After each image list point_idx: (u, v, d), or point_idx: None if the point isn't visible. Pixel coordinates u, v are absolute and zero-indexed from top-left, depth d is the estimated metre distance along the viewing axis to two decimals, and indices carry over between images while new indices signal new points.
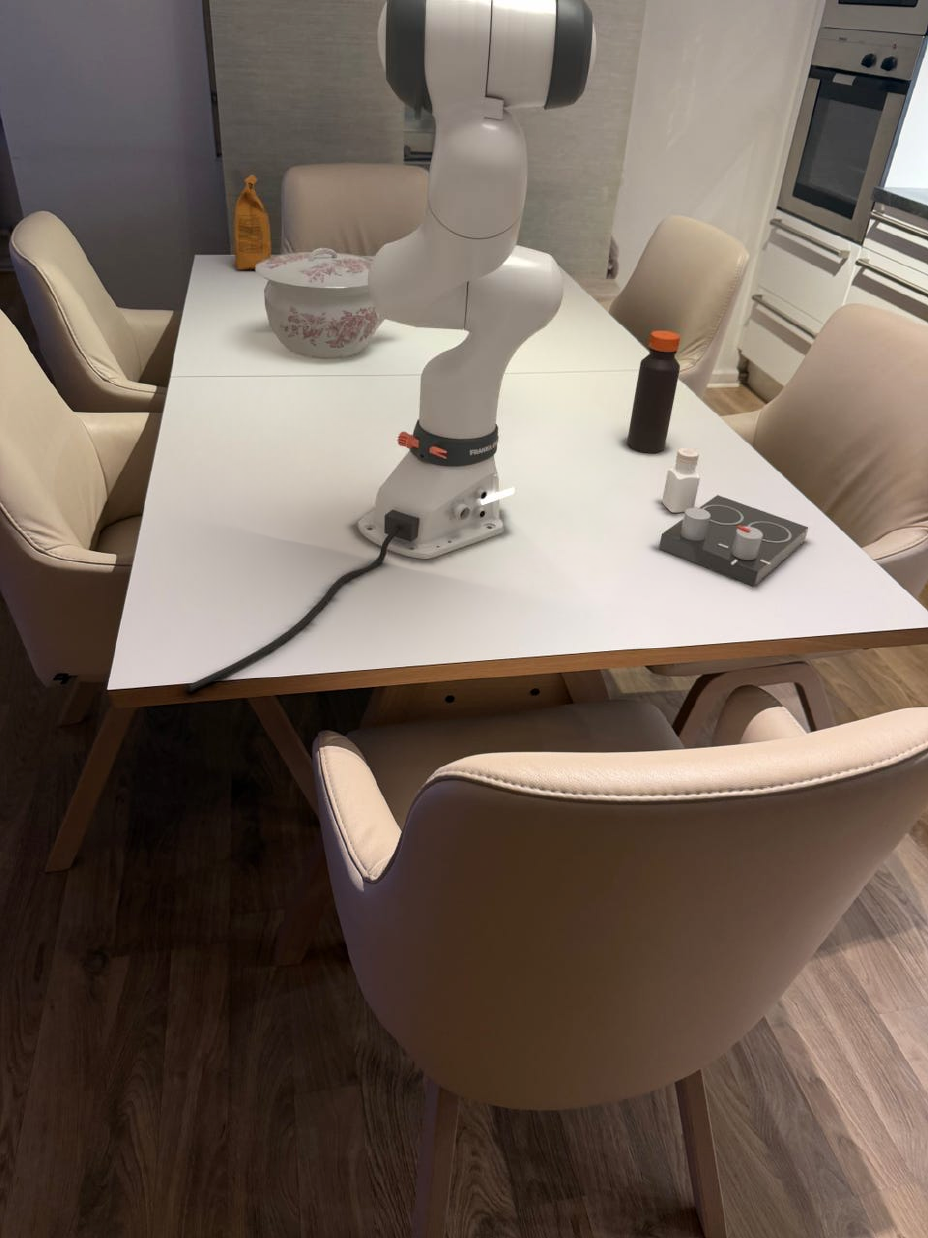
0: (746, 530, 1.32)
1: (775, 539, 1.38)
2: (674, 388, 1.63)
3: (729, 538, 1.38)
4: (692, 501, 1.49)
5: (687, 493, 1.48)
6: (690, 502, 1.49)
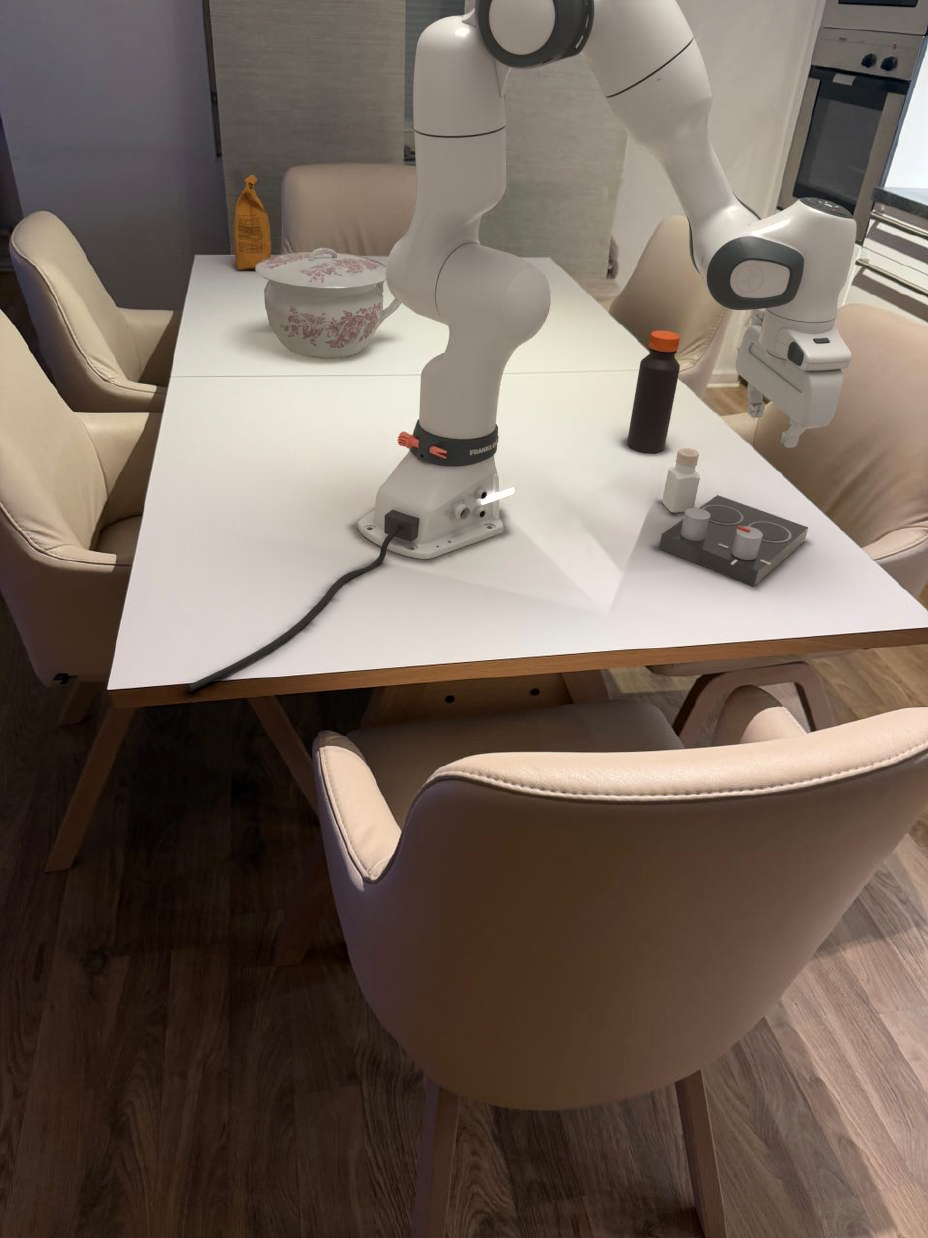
0: (746, 530, 1.32)
1: (775, 539, 1.38)
2: (674, 388, 1.63)
3: (729, 538, 1.38)
4: (692, 501, 1.49)
5: (687, 493, 1.48)
6: (690, 502, 1.49)
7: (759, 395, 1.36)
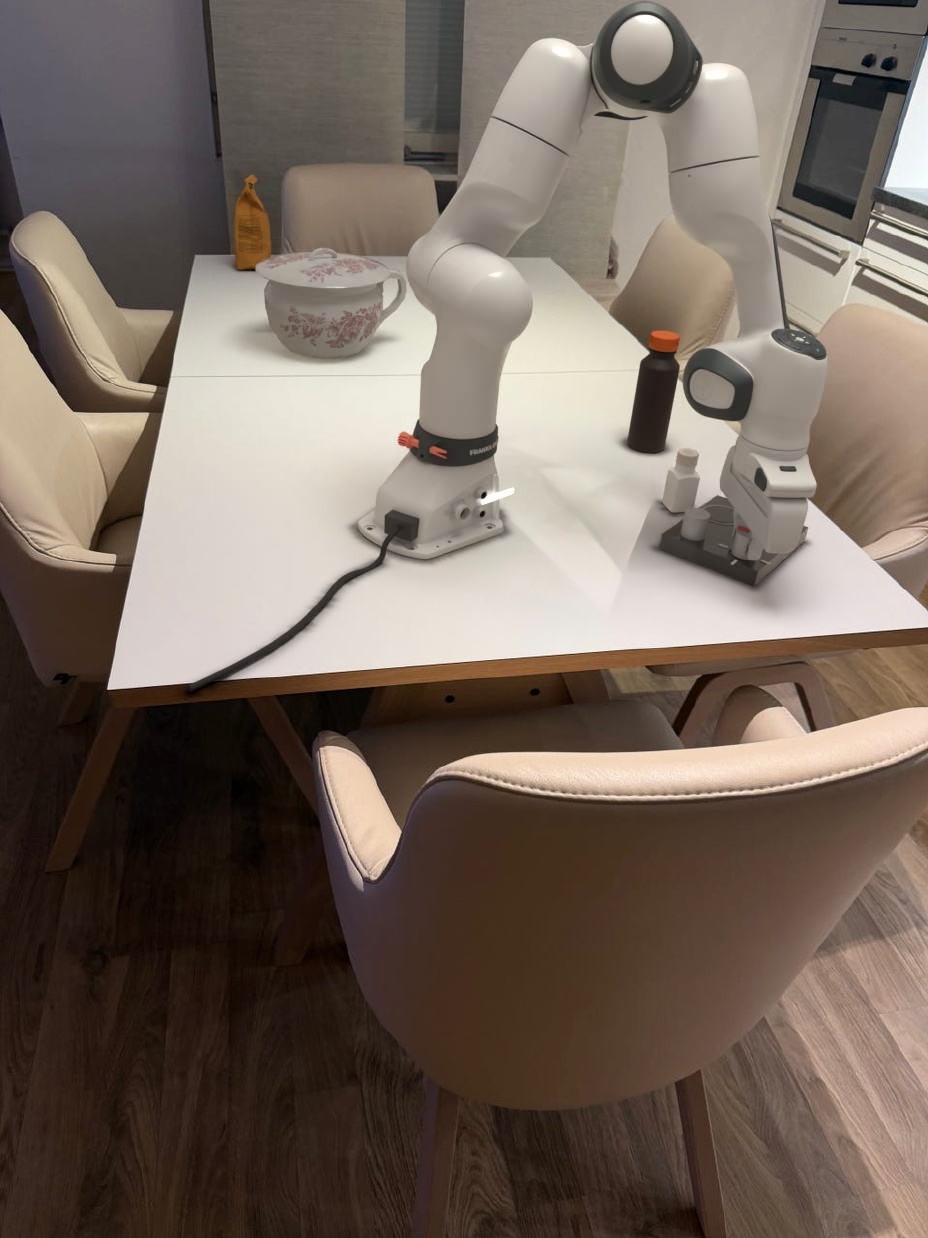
0: (746, 530, 1.32)
1: None
2: (674, 388, 1.63)
3: (729, 538, 1.38)
4: (692, 501, 1.49)
5: (687, 493, 1.48)
6: (690, 502, 1.49)
7: None
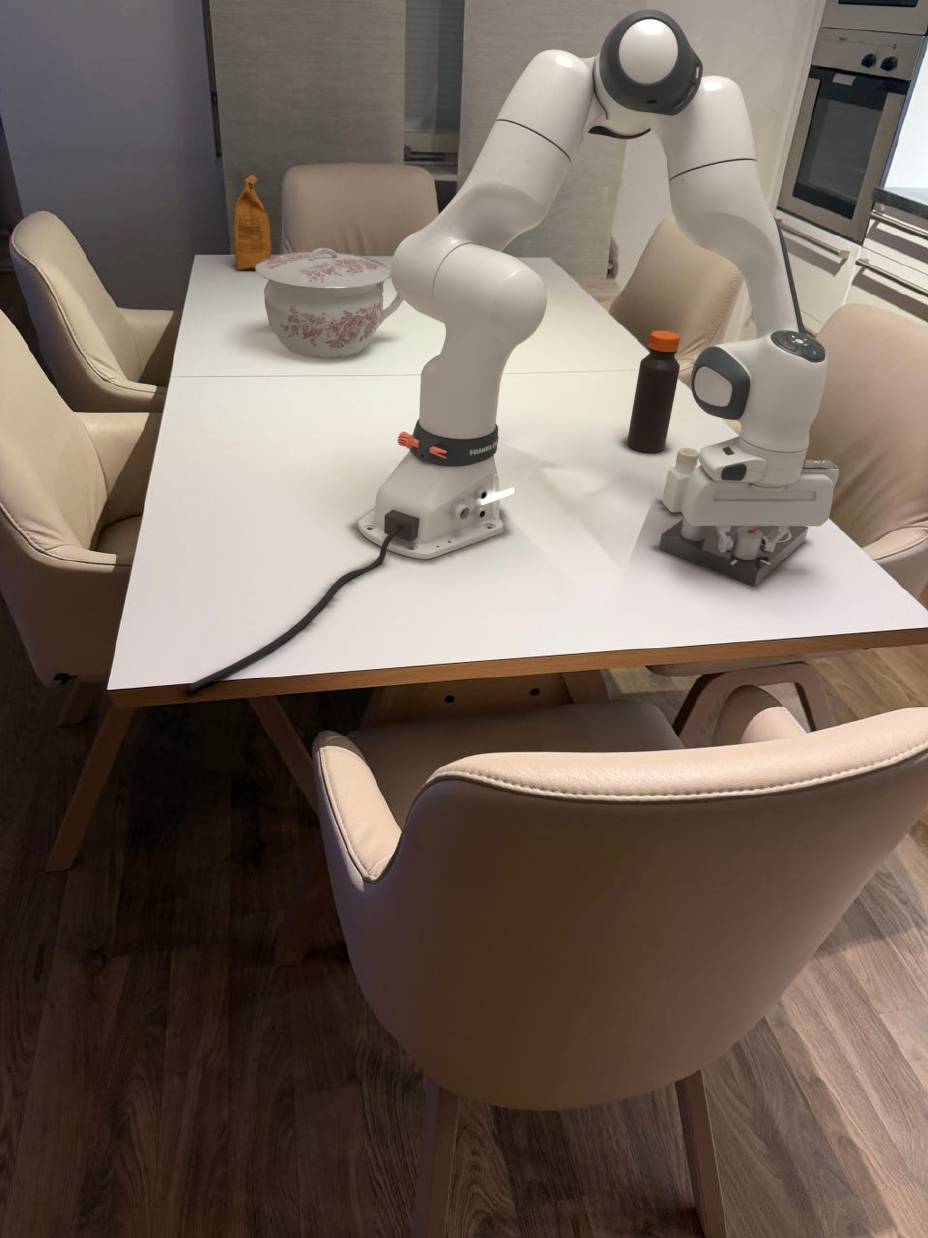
0: (750, 529, 1.33)
1: None
2: (674, 388, 1.63)
3: None
4: None
5: None
6: None
7: (776, 534, 1.33)
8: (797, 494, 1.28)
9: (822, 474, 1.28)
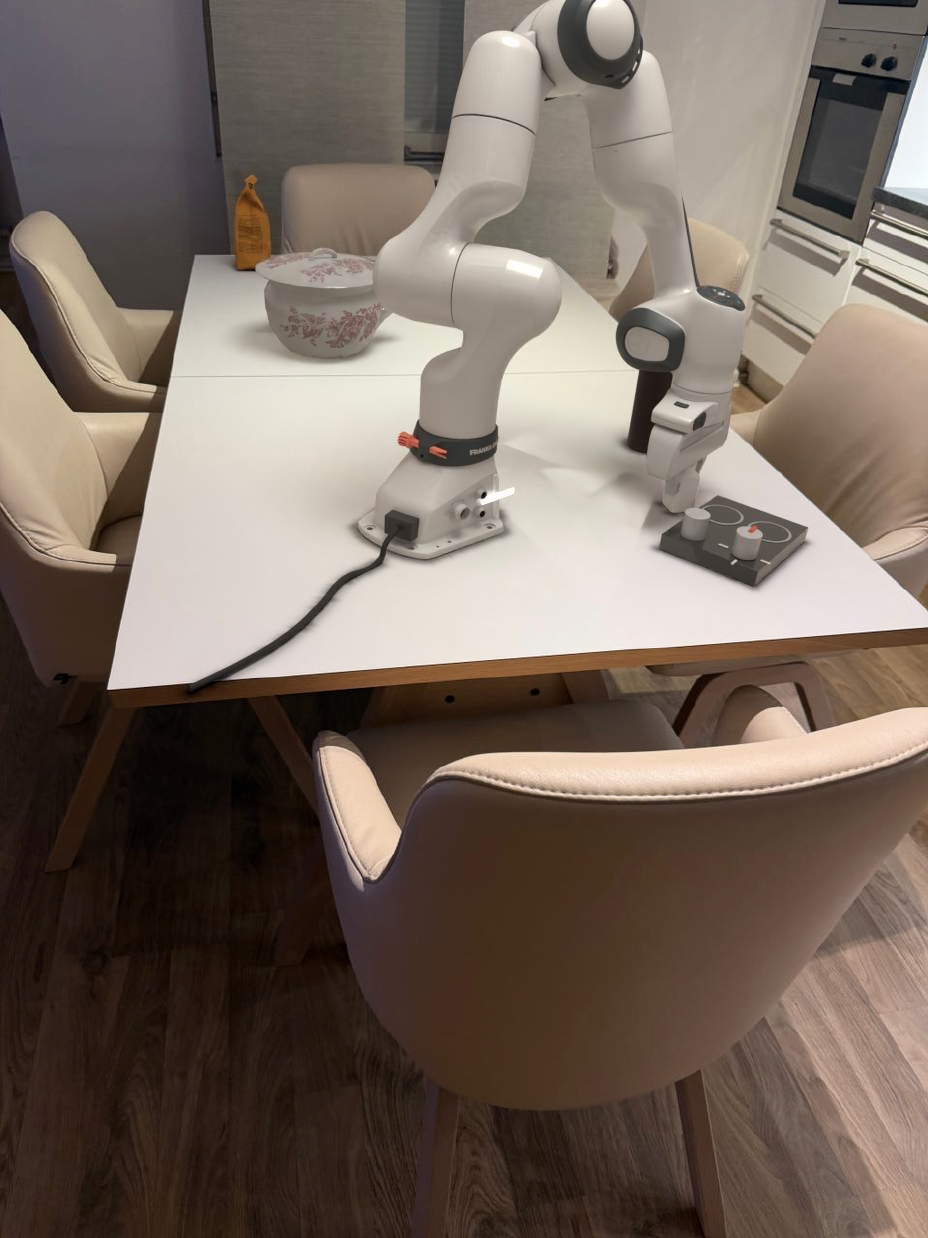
0: (750, 529, 1.33)
1: (775, 539, 1.38)
2: None
3: (729, 538, 1.38)
4: (692, 501, 1.49)
5: (687, 493, 1.48)
6: (690, 502, 1.49)
7: (698, 464, 1.50)
8: (715, 424, 1.46)
9: None
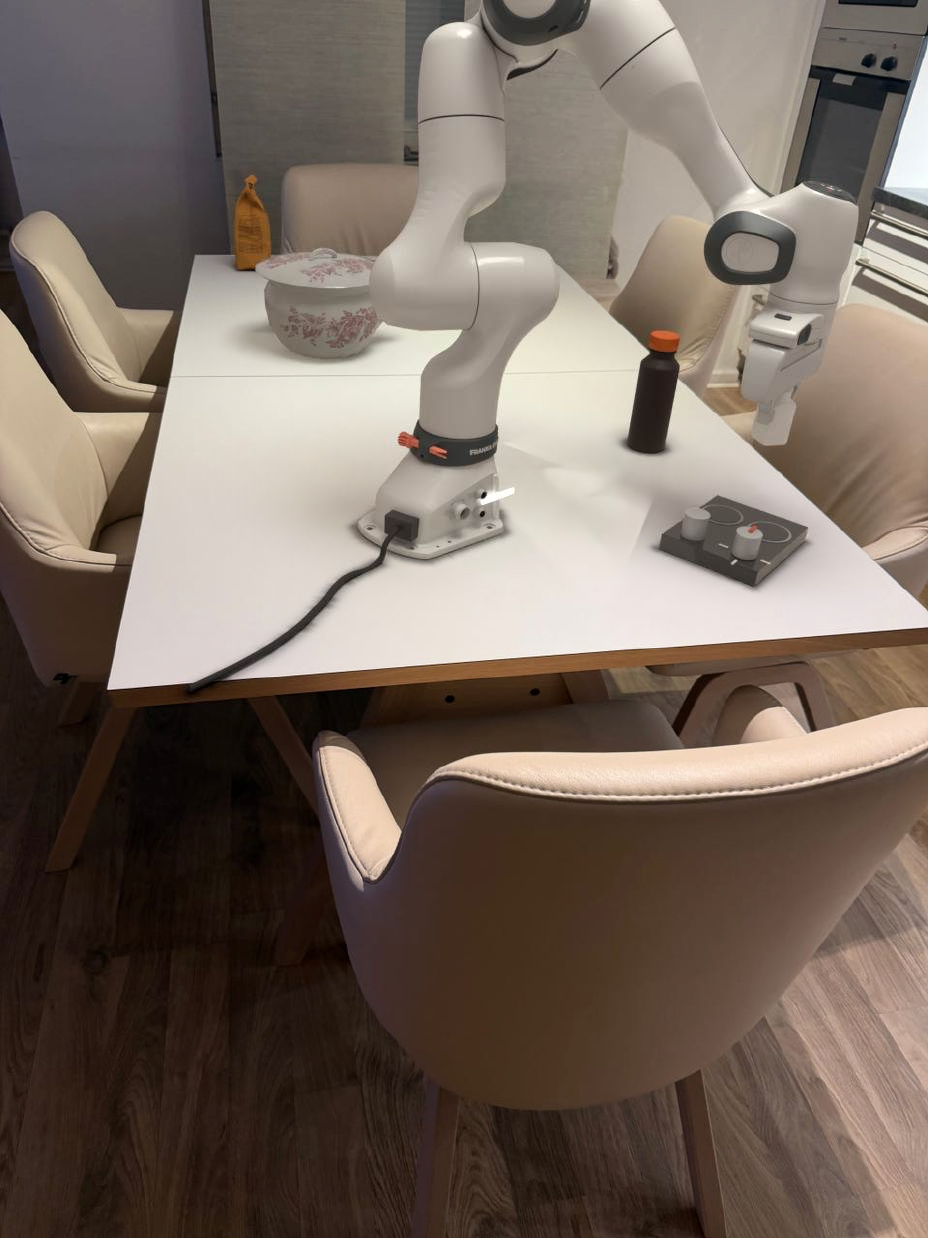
0: (750, 529, 1.33)
1: (775, 539, 1.38)
2: (674, 388, 1.63)
3: (729, 538, 1.38)
4: (786, 433, 1.33)
5: (781, 423, 1.32)
6: (784, 434, 1.33)
7: None
8: None
9: None
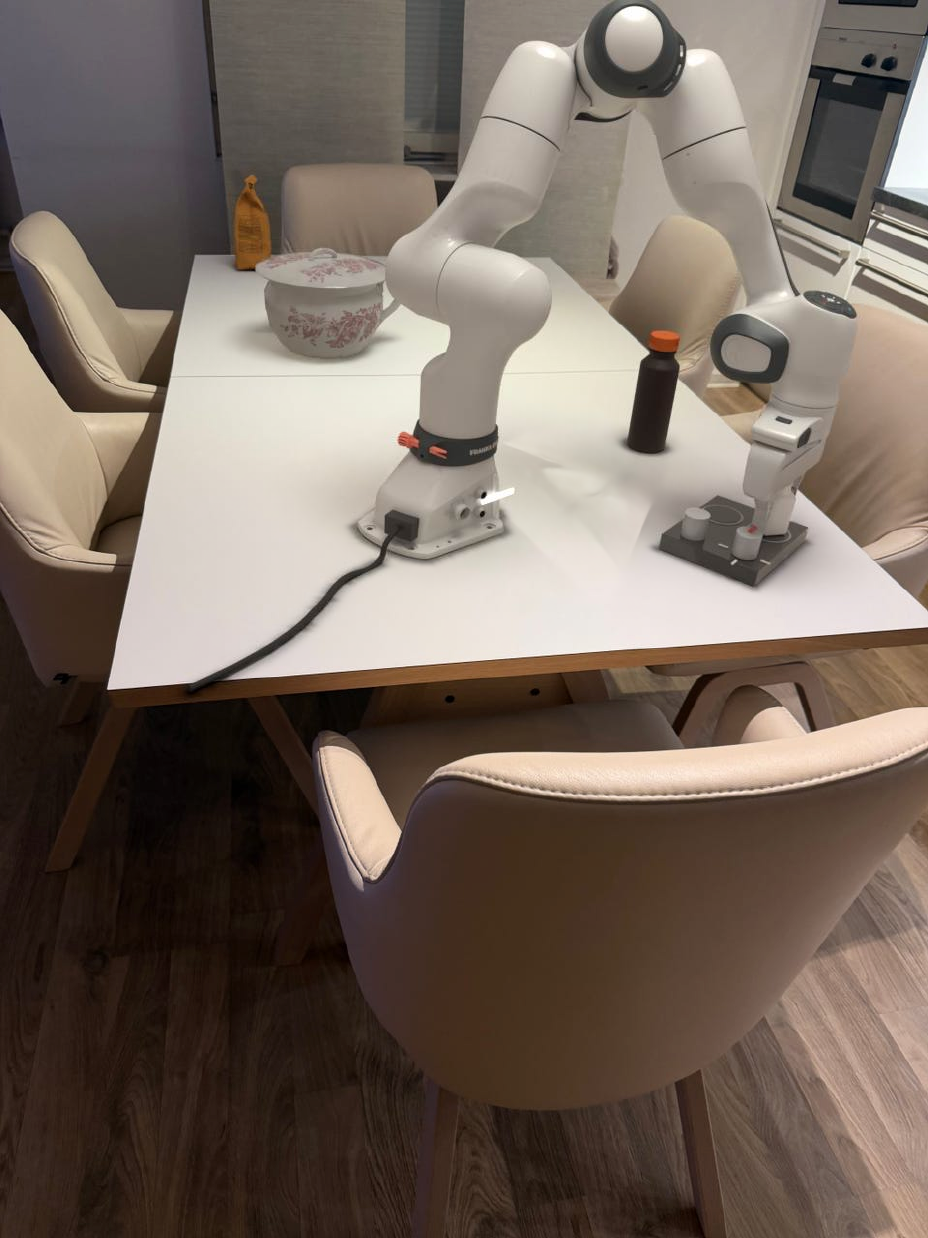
0: (750, 529, 1.33)
1: (775, 539, 1.38)
2: (674, 388, 1.63)
3: (729, 538, 1.38)
4: (786, 523, 1.38)
5: (782, 515, 1.37)
6: (784, 524, 1.38)
7: (796, 480, 1.40)
8: None
9: None
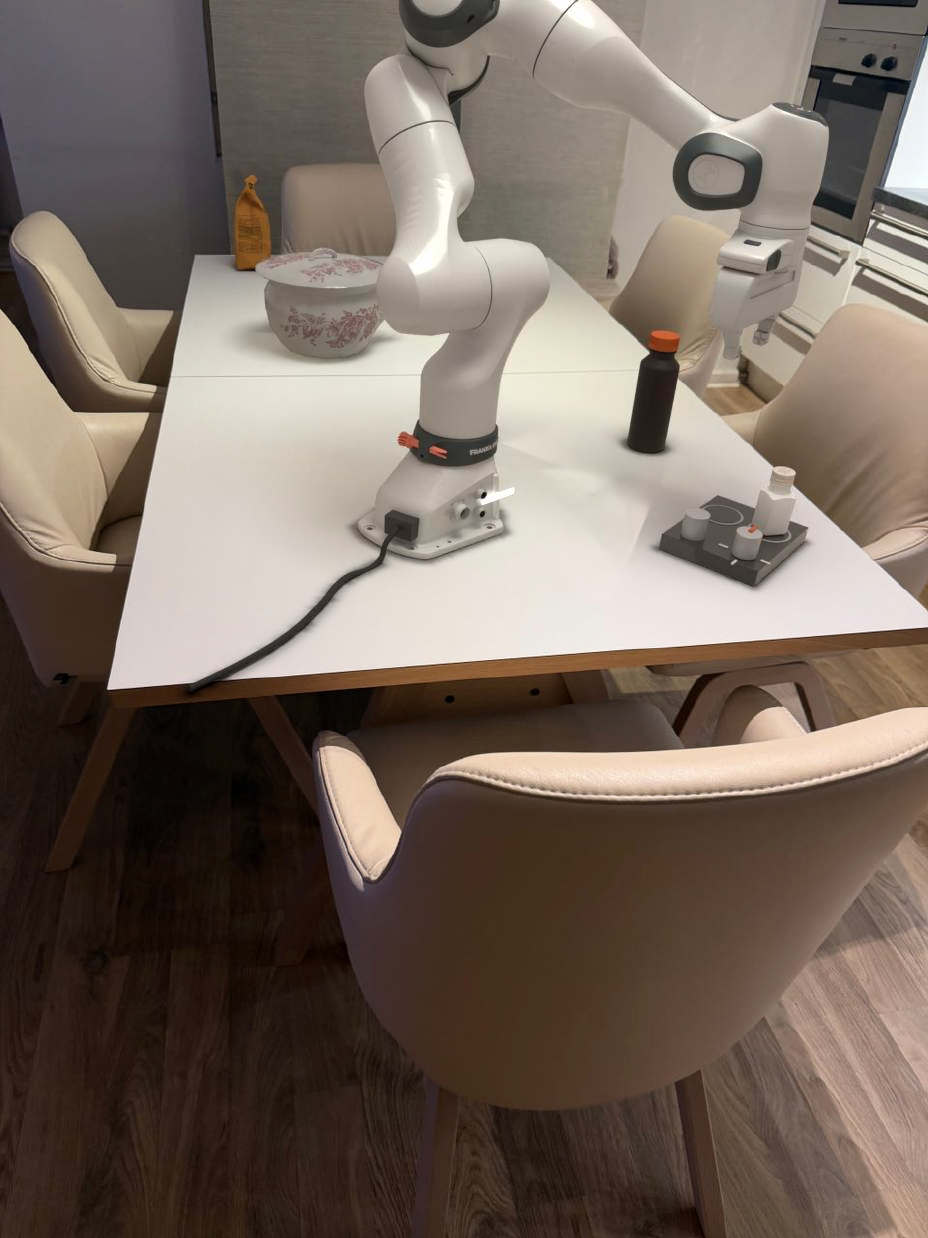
0: (750, 529, 1.33)
1: (775, 539, 1.38)
2: (674, 388, 1.63)
3: (729, 538, 1.38)
4: (786, 523, 1.38)
5: (782, 515, 1.37)
6: (784, 524, 1.38)
7: (769, 324, 1.34)
8: (786, 276, 1.29)
9: None
